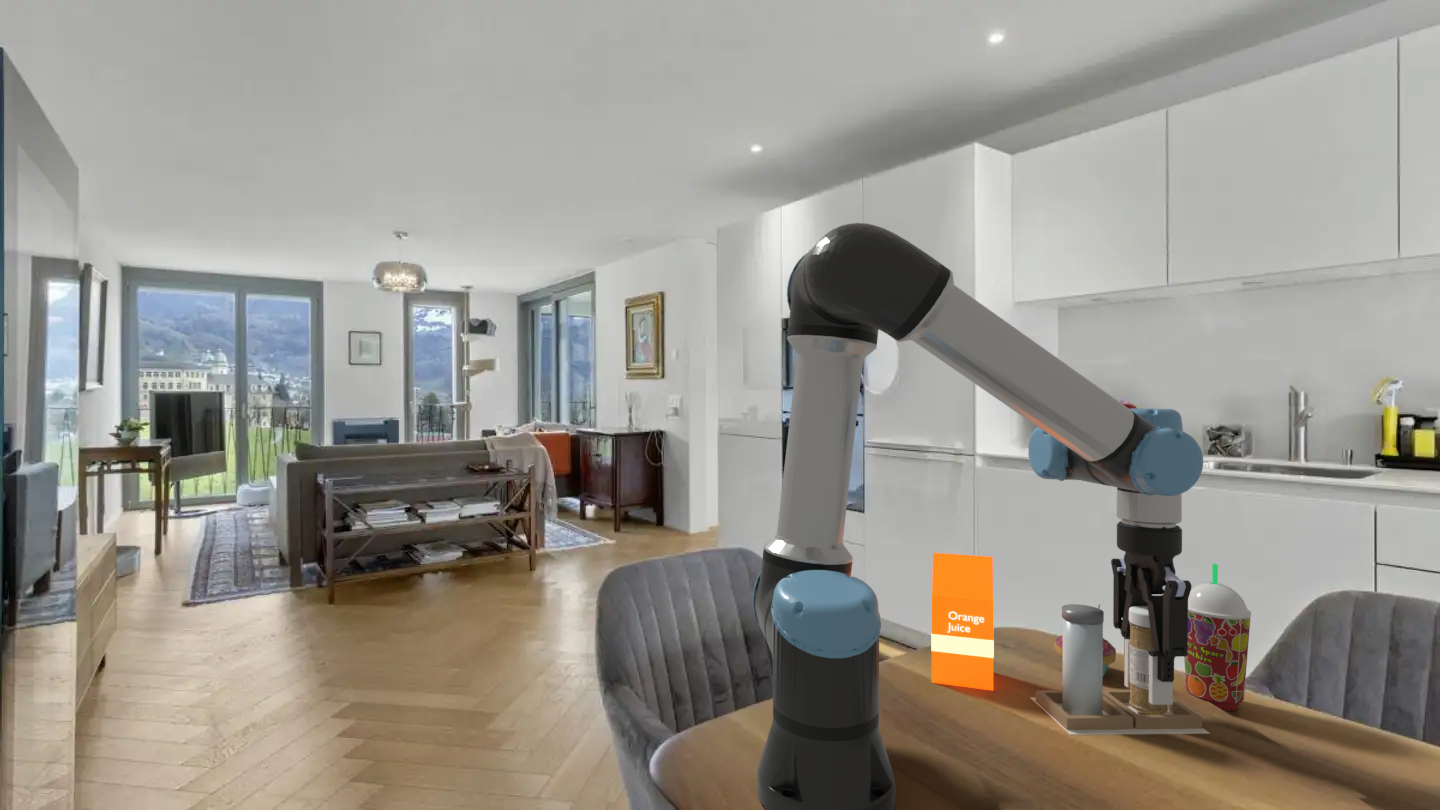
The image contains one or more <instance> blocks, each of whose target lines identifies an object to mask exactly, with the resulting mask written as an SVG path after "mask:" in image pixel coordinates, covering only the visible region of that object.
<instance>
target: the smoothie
mask: <svg viewBox="0 0 1440 810" xmlns="http://www.w3.org/2000/svg"><path fill="white" fill-rule="evenodd" d="M1211 566H1212V567H1211V568H1212V569H1211V570H1212V571H1211V576H1212V577H1211V582H1202V583H1199V584H1197V585H1195V586H1193V587H1191V591H1190V594H1189V598H1188V654H1187V656H1183V658H1184V659H1183V661H1184V672H1185V690H1186V691H1187V692H1189V693H1190V694H1191V695H1193V696H1195V697H1196V698H1200V699H1202V700H1205V701H1207V702H1208V703H1210V704H1211V705H1213V706H1215V707H1217V708H1218V709H1220V710H1222V711H1223V710H1225V712H1227V711H1231V712H1232V711H1234V710H1238V709H1239V708H1240V703H1242V702H1243V701H1244V700H1245V690H1246V689H1245V688H1246V675H1247V665H1248V653H1249V651H1248V650H1249V640H1250V628H1251V617H1252V611H1250V610H1249V609H1248V606H1247V605H1246V603H1245V600H1244V599H1243V597H1241V595H1240V594H1239V593H1238V592H1237V591H1235V590H1234V589H1233V588H1231V587H1229V586H1228V585H1226V584H1223V583H1219V569H1218V567H1219V565H1218V564H1217V563H1212V565H1211Z"/></svg>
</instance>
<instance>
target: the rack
mask: <svg viewBox="0 0 1440 810" xmlns="http://www.w3.org/2000/svg"><path fill="white" fill-rule="evenodd" d="M1030 699H1031V700H1032V701H1033V702H1034V703H1035V704H1036V705H1037V706H1038V707H1040V708H1041V709H1042V710H1043V711H1044V712H1045V713H1046V714H1047V715H1048V716H1049V717H1050V718H1052V720H1054V722H1056V723H1057V724H1058V725H1059V726H1060V727H1061V728H1062V729H1063V730H1064V731H1066V732H1067V734H1068V735H1070V736H1083V735H1085V736H1090V735H1092V736H1093V735H1097V736H1098V735H1103V736H1105V735H1109V736H1110V735H1168V734H1169V735H1183V734H1184V735H1187V734H1188V735H1190V734H1191V735H1192V734H1193V735H1194V734H1196V735H1197V734H1198V735H1199V734H1202V735H1203V734H1204V735H1205V734H1211V732H1210V731H1207V730H1206V729H1205V728H1203V717H1202V716H1201V715H1199V714H1198V713H1196V712H1194V711H1193V710H1192V709H1190V708H1189V707H1187V706H1185V705H1184V704H1182V703H1181V702H1179V700H1176V699H1174V698H1173V705H1167V707H1168V711H1167V713H1165V714H1160V715H1153V714H1147V713H1143V712H1140V711H1138V710H1136V709H1134V708H1133V707H1131V706H1130V705H1129V700H1130V689H1103V691H1102V715H1071V716H1070V715H1069V714H1068V713H1067V712H1065V711H1064V710H1063V709H1062V689H1059V690H1058V689H1057V690H1049V689H1047V690H1043V689H1041V690H1040V689H1039V690H1037V689H1036V690H1035V697H1031V696H1030Z"/></svg>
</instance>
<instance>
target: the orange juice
mask: <svg viewBox="0 0 1440 810" xmlns="http://www.w3.org/2000/svg"><path fill="white" fill-rule="evenodd" d="M932 556H933V557H932V577H931V579H932V584H931V634H930V636H931V638H930V640H931V642H930V643H931V644H930V645H931V648H930V649H931V684H932V683H933V684H939V685H947V686H954V687H962V688H963V687H964V688H969V689H977V690H978V689H979V690H984V691H992V692H993V691H994V658H995V653H994V652H995V640H994V639H995V638H994V635H995V631H994V630H995V627H994V626H995V625H994V621H995V617H994V616H995V614H994V613H995V612H994V611H995V610H994V608H995V607H994V606H995V605H994V603H995V602H994V601H995V600H994V576H993V575H994V572H993V571H994V569H993V568H994V567H993V565H994V564H993V556H985V555H983V556H982V555H972V554H971V555H970V554H958V553H957V554H956V553H943V552H941V553H940V552H933V553H932Z"/></svg>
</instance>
